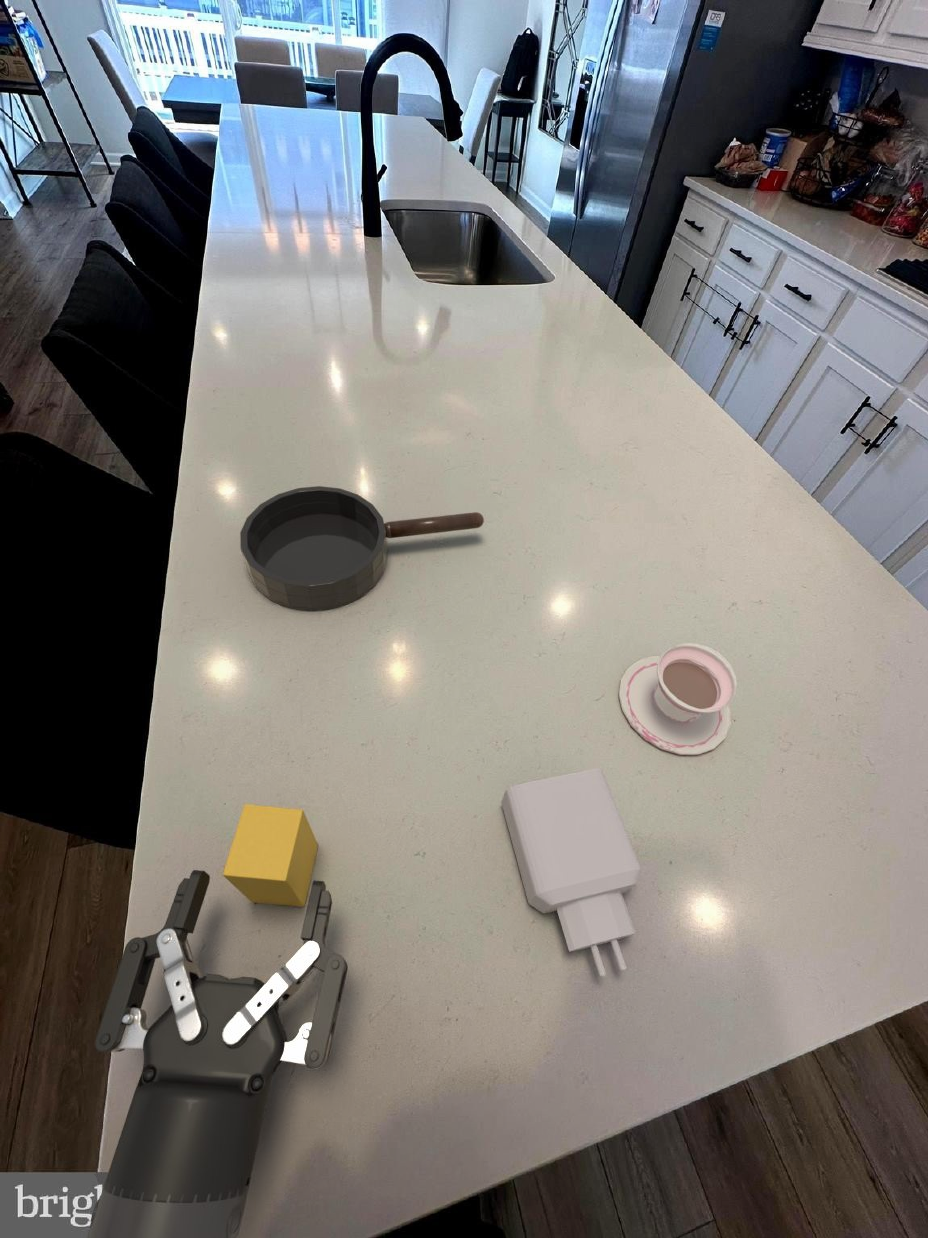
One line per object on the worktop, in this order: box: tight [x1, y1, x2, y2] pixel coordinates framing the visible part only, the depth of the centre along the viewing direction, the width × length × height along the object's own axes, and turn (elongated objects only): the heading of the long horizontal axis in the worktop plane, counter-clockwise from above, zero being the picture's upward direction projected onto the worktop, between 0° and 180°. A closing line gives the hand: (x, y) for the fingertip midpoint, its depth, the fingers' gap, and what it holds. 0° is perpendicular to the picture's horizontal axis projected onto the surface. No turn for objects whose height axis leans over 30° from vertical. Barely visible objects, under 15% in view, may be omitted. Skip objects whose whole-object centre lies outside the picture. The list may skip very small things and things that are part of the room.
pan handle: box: [384, 511, 485, 539], centre depth 70 cm, size 13×2×2 cm, turn 104°
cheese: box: [222, 803, 319, 908], centre depth 44 cm, size 5×4×9 cm
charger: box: [500, 768, 642, 978], centre depth 47 cm, size 5×9×15 cm
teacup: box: [618, 642, 738, 756], centre depth 58 cm, size 12×12×6 cm
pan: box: [239, 485, 388, 612], centre depth 67 cm, size 17×17×4 cm
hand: (261, 877), depth 40 cm, fingers open, 8 cm apart
